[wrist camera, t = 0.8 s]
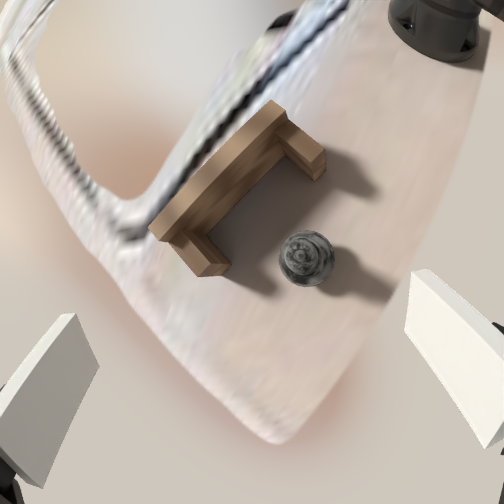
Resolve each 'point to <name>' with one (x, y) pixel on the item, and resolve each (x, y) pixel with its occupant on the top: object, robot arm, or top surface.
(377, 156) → the top surface
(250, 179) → the brown wooden u-shaped block
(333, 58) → the top surface
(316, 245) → the grey chess piece
